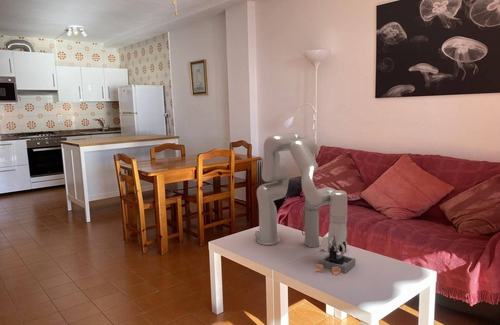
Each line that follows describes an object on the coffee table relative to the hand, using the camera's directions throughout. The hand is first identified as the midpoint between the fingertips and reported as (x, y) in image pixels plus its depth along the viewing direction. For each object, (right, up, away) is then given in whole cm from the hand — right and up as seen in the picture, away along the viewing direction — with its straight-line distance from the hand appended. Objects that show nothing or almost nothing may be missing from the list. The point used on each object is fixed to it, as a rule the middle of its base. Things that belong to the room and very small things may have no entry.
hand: (337, 255), depth 171 cm
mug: (+3, -2, +21) cm, 21 cm away
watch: (-1, -5, +1) cm, 5 cm away
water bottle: (-8, -1, +27) cm, 29 cm away
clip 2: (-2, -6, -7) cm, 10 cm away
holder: (0, -5, +1) cm, 5 cm away
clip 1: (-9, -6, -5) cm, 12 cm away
